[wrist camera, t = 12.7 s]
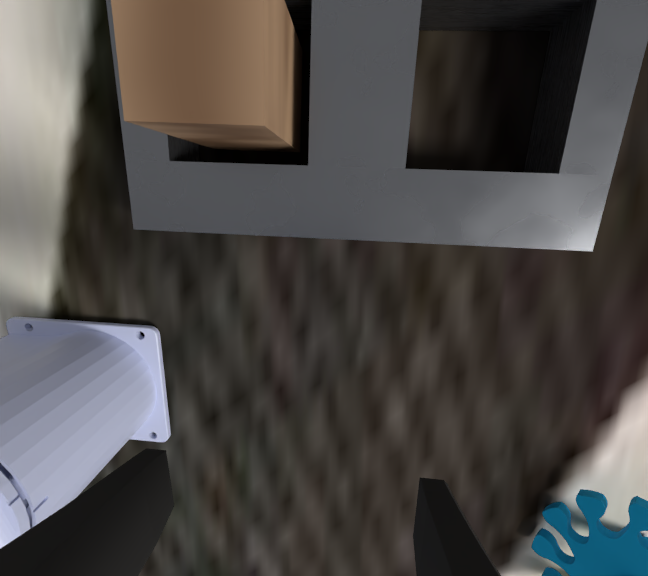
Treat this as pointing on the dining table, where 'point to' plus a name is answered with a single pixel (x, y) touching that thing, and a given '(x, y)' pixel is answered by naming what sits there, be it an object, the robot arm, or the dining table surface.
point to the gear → (595, 540)
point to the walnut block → (211, 71)
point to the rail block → (393, 131)
